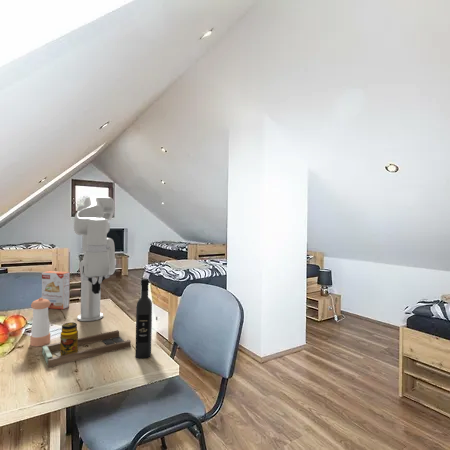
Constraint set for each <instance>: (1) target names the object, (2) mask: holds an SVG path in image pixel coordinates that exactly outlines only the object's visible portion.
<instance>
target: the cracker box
mask: <svg viewBox="0 0 450 450" xmlns="http://www.w3.org/2000/svg"><path fill="white" fill-rule="evenodd" d="M70 275H71V273H70V271H57V270H47V271H43V272H41V298H43V299H47V300H49V301H50V306H49V307H48V309H53V310H65V309H67V308H69V307H70V284H71V283H70V280H71V276H70Z"/></svg>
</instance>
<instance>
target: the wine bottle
mask: <svg viewBox="0 0 450 450" xmlns="http://www.w3.org/2000/svg"><path fill="white" fill-rule="evenodd" d="M149 281H150V280H149V278H140V298H139V299H138V300H137V302H136V307H135V353H134V356H135V357H134V358H135V359H150V358H151V355H152V332H153V331H152V328H153V326H152V325H153V323H152V322H153V301H152V300H151V298H150V297H149V284H150V282H149Z"/></svg>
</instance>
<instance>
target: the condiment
mask: <svg viewBox="0 0 450 450" xmlns="http://www.w3.org/2000/svg"><path fill="white" fill-rule="evenodd" d="M59 338H60V346H61V347H60V350H59V351H57V352H54V355H55V356H56V357H58V356H62V355H67V354H71V353H75V352H80V351H79V346H78V338H79V330H78V323H77V322H66V323H63V324H62V325H61V332H60V337H59Z"/></svg>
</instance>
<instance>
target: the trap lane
mask: <svg viewBox="0 0 450 450" xmlns="http://www.w3.org/2000/svg"><path fill="white" fill-rule="evenodd" d="M100 341H101V342H103V343H104V344H105V345H102V346H98V347H93V348H89V349H84V350H80V351H79V352H75V353H71V354H67V355H62V356H54V357H53V354H52V353H53V352H58V351H60V347H61V346H60V342H55V343H49V344H46V345H43V346H41V354H42V356H43V358H44V359H43V360H44V361H45V362H46V364H47V368H52V367H56V366H60V365H65V364H69V363H72V362H76V361H79V360H80V361H81V360H83V359H88V358H91V357H96V356H99V355H104V354H107V353H111V352H116V351H120V350H124V349H127V348H131V347H132V346H131V344H132V343H131V339H127V340H124V339H122V337H120V331H119V330H118V329H117V330H112V331H107V332H103V333H98V334H94V335H89V336H83V337H78V347H79V346H83V345H88V344H92V343H98V342H100Z"/></svg>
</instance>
